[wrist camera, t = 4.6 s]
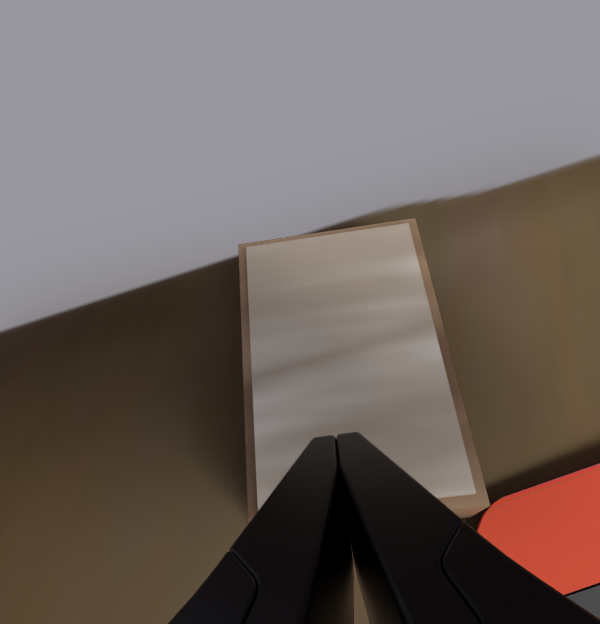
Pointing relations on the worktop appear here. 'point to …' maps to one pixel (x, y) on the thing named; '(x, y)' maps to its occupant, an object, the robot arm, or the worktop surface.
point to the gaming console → (553, 533)
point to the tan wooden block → (351, 359)
